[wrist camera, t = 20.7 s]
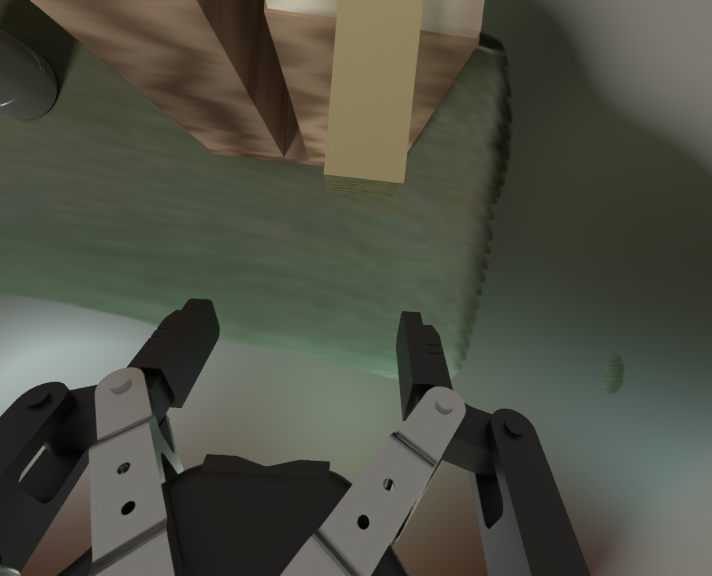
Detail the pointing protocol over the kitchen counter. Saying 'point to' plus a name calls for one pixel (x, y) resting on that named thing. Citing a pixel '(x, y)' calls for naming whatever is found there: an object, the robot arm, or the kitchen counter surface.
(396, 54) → the tan wooden bar
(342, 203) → the kitchen counter surface
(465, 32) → the stepped wooden block
